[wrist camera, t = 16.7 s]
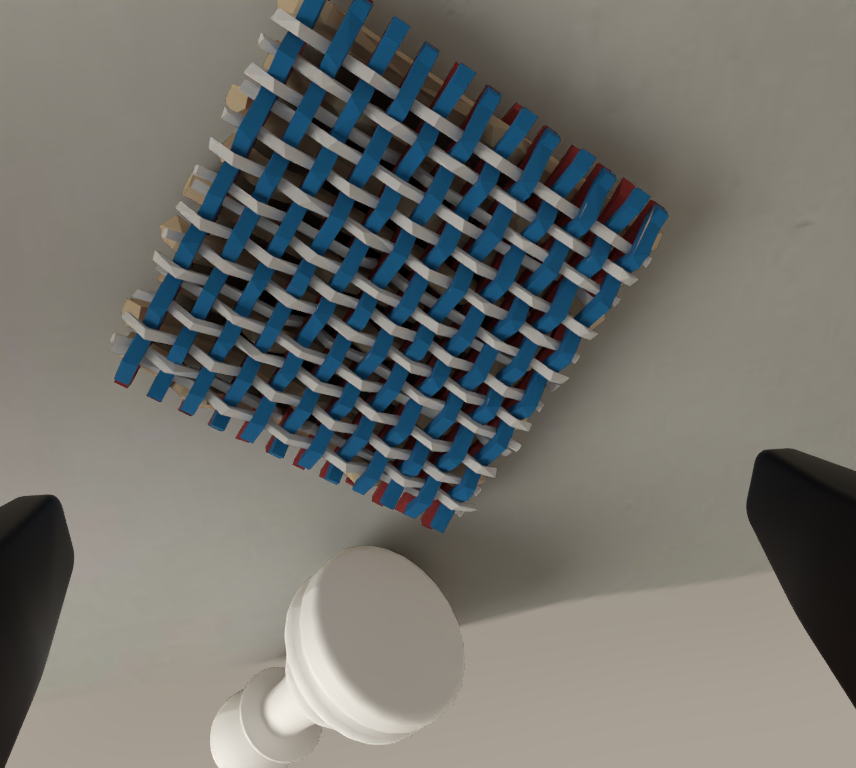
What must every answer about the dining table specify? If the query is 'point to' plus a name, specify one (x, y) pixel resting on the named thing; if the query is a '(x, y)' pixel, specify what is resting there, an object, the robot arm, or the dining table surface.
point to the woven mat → (384, 267)
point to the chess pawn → (348, 664)
